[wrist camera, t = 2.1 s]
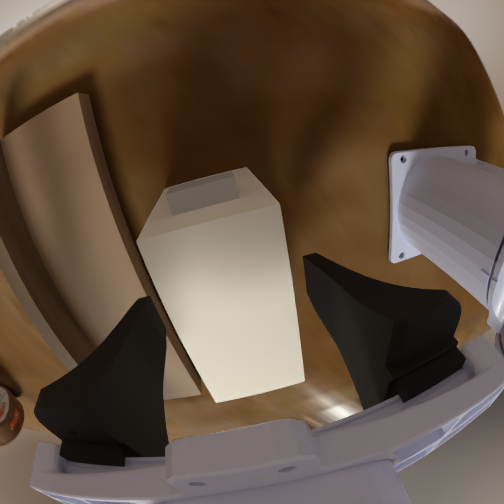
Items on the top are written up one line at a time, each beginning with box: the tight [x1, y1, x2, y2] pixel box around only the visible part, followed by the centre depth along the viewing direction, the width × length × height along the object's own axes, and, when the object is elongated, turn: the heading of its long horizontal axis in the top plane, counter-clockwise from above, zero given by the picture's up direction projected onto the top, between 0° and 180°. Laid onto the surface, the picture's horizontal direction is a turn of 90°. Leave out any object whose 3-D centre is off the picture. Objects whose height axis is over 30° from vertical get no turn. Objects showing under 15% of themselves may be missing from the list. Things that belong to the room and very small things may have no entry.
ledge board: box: [0, 93, 201, 400], centre depth 14 cm, size 7×22×4 cm, turn 12°
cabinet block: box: [136, 167, 305, 403], centre depth 13 cm, size 4×10×7 cm, turn 12°
